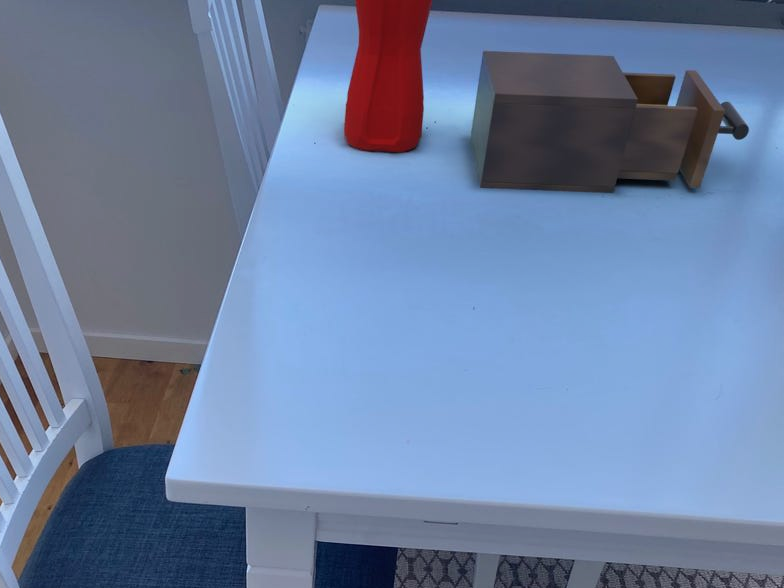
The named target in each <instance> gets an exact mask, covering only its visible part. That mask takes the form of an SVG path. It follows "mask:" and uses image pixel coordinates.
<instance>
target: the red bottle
mask: <svg viewBox="0 0 784 588" xmlns="http://www.w3.org/2000/svg"><path fill="white" fill-rule="evenodd" d="M433 1H434V0H354V2H355V3H354V4H355V10H356V18H357V26H358V46H357V50H356V54H355V58H354V63H353V68H352V72H351V76H350V81H349V85H348V89H347V94H346V103H345V110H344V111H345V112H344V123H343V135H344V139H345V140H346V142H347V144H348V145H349V146H351V147H353V148H355V149H357V150H358V151H366V152H383V153H397V154H398V153H399V154H400V153H405V152H408V151H411V150H413V149H415V148H416V147H417V146H418V144H419V143H420V141H421V139H422V133H423V121H424V111H425V107H424V104H425V103H424V99H425V97H424V96H425V95H424V81H423V80H424V79H423V63H422V45H423V41H424V36H425V33H426V30H427V25H428V20H429V17H430V13H431V8H432V5H433V4H432V3H433Z"/></svg>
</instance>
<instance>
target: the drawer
mask: <svg viewBox="0 0 784 588" xmlns="http://www.w3.org/2000/svg"><path fill="white" fill-rule="evenodd" d="M622 72H623V74H624V76H625V77H626V79H627V81H628V83H629V84H630V86H631V88H632V90H633V91H634V93H635V95H636V97H637V98H638V101H637V104H653V105H636V108H635V112H634V116H633V120H632V124H631V127H630V131H629V135H628V139H627V143H626V146H625V150H624V154H623V158H622V162H621V165H620V169H619V173H618V177H617V179H624V180H648V181H672V182H673V181H674V182H675V181H677V178H678V175H679V171H680V173H681V175H682V177H683V179H684V180H685V182H686V184H687V186H688V187H689V188H692V189H693V188H695V189H700V188H701V186H702V183H703V180H704V178H705V174H706V171H707V167H708V166H709V165H708V164H709V161H710V159H711V156H712V153H713V149H714V147H715V143H716V141H717V136H718V134H720V135H721V134H723V135H732V137H733V138H734V139H735V140H738V141H740V140H743V139H745V138H746V137H748V135H749V132H750V127H749V126H748V124H747V123H746V121H745V120H744V118H743V117H742V116H741V115H740V113H739V112H738V110H737V109H736V108H735V106H734V105H733V104H732V103H731V102H730V101H722V103H720V102H719V100H718V99H717V98H716V96H715V95H714V93H713V92H712V90H711V89H710V88H709V87H708V85H707V83H706V82H705V81H704V79H703V77H701V75H700V74H699V72H698V71H697V70H692V69H690V70H689V69H686V70H685V72H684V76H683V79H682V82H681V86H680V89H679V93H678V95H677V96H678V97H677V100H676V103H675V106H674V105H669V101H670V98H671V95H672V91H673V88H674V85H675V80H676V78H677V77H676V74H672V73H669V74H668V73H646V72H624V71H622ZM656 105H668V106H656ZM722 122H723V124H724V125H722Z"/></svg>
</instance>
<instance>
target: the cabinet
mask: <svg viewBox="0 0 784 588" xmlns="http://www.w3.org/2000/svg"><path fill="white" fill-rule="evenodd" d="M623 72H624V71H622V68H621V67H620V65H619V63H618V61H617V60H616V58H615V56H614V55H602V54H601V55H597V54H575V53H573V54H572V53H549V52H522V51H499V50H498V51H495V50H482V55H481V63H480V69H479V75H478V76H479V77H478V82H477V89H476V97H475V102H474V103H475V104H474V108H473V109H474V110H473V118H472V122H471V123H472V124H471V130H470V136H469V137H470V138H469V142H470V147H471V151H472V156H473V161H474V165H475V166H474V167H475V171H476V175H477V179H478V185H479V188H480V189H495V190H496V189H497V190H499V189H500V190H521V191H522V190H523V191H524V190H525V191H546V192H547V191H548V192H550V191H551V192H569V193H570V192H571V193H597V194H600V193H601V194H614V191H615V187H616V184H617V181H618V178H617V177H618V173H619V169H620V165H621V162H622V158H623V154H624V150H625V146H626V143H627V139H628V135H629V131H630V127H631V124H632V120H633V116H634V112H635V108H636V105H637V101H638V98H637V97H636V95H635V93H634V91H633V90H632V88H631V86H630V84H629V83H628V81H627V79H626V77H625V76H624V74H623Z"/></svg>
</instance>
